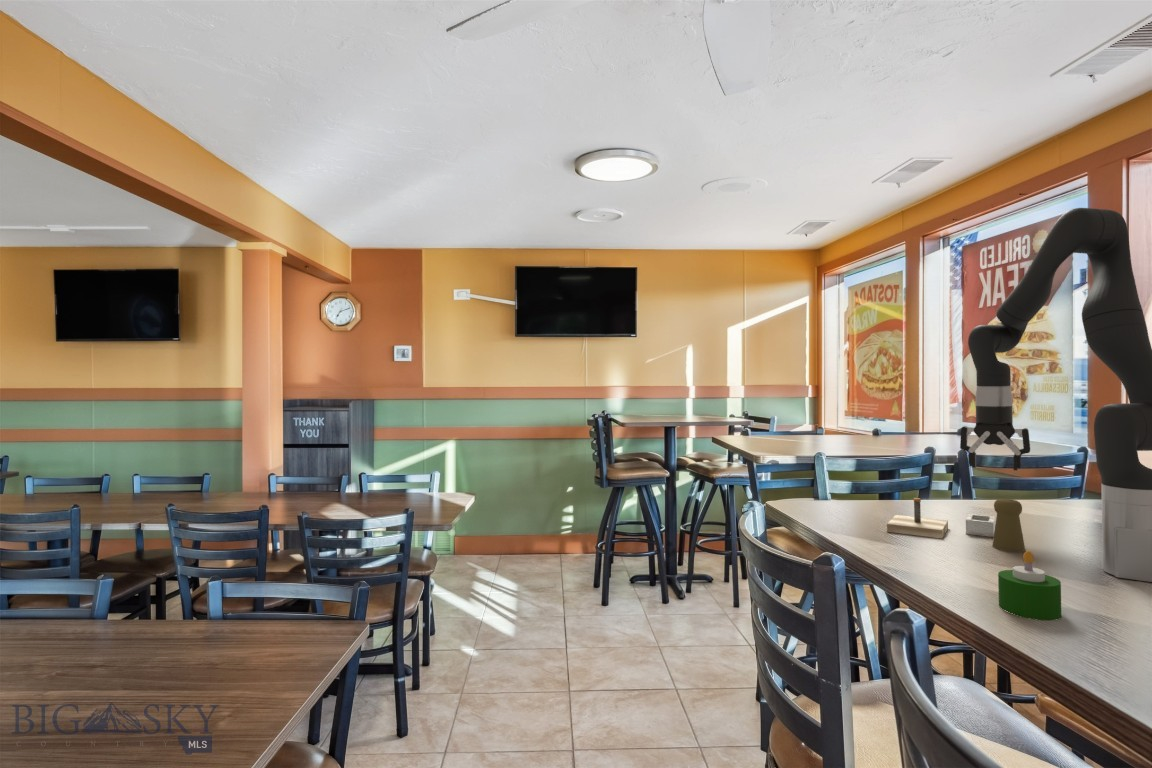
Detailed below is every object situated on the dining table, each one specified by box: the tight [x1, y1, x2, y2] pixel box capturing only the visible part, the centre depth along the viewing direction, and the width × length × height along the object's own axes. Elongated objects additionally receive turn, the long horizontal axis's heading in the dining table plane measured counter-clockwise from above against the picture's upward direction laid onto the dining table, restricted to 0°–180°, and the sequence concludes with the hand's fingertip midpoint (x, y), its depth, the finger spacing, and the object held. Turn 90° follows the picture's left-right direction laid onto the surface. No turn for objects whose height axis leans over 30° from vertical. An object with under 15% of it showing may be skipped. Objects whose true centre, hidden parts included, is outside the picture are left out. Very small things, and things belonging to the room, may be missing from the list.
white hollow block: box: [965, 513, 996, 538], centre depth 148 cm, size 8×6×4 cm
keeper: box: [886, 497, 949, 539], centre depth 151 cm, size 12×12×8 cm
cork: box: [992, 498, 1026, 553], centre depth 134 cm, size 6×6×11 cm
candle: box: [997, 550, 1062, 621], centre depth 98 cm, size 8×8×10 cm
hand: (994, 468), depth 148 cm, fingers open, 8 cm apart
